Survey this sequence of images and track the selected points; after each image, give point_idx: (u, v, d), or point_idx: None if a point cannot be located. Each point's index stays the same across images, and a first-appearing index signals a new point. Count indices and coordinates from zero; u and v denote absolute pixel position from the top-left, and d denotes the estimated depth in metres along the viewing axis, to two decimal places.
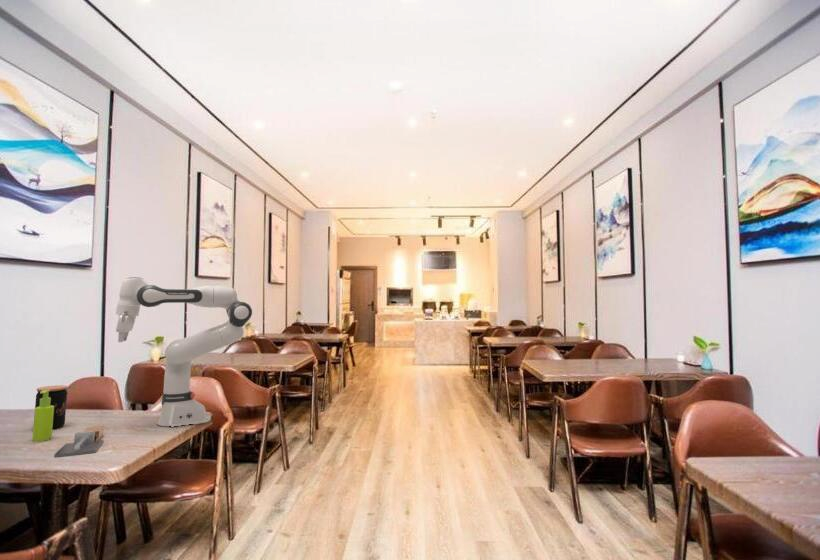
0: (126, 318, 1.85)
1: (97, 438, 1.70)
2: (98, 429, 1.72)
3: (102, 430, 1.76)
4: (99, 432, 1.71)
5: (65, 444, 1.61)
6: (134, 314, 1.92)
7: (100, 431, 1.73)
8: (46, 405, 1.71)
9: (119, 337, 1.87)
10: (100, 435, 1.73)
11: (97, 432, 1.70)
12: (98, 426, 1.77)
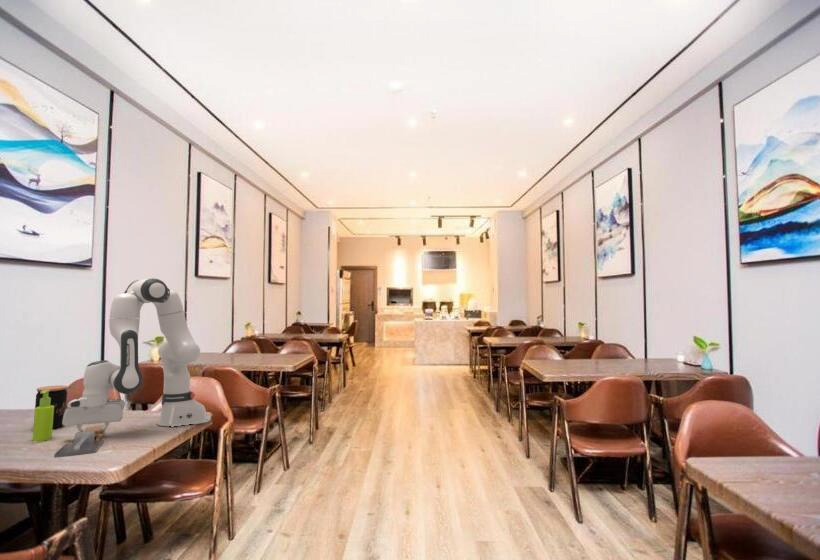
0: None
1: (97, 438, 1.70)
2: (98, 429, 1.72)
3: None
4: (99, 432, 1.71)
5: (65, 444, 1.61)
6: None
7: (100, 431, 1.73)
8: (46, 405, 1.71)
9: None
10: (100, 435, 1.73)
11: (97, 432, 1.70)
12: (98, 426, 1.77)
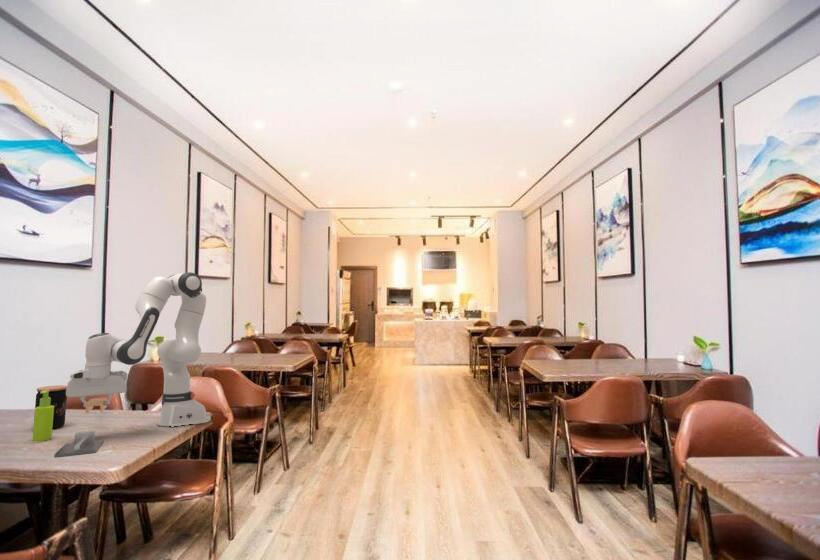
0: None
1: (101, 408, 1.71)
2: (102, 400, 1.74)
3: None
4: (103, 403, 1.72)
5: (65, 444, 1.61)
6: None
7: (104, 402, 1.74)
8: (46, 405, 1.71)
9: (109, 399, 1.76)
10: (104, 406, 1.74)
11: (101, 403, 1.71)
12: (101, 398, 1.78)
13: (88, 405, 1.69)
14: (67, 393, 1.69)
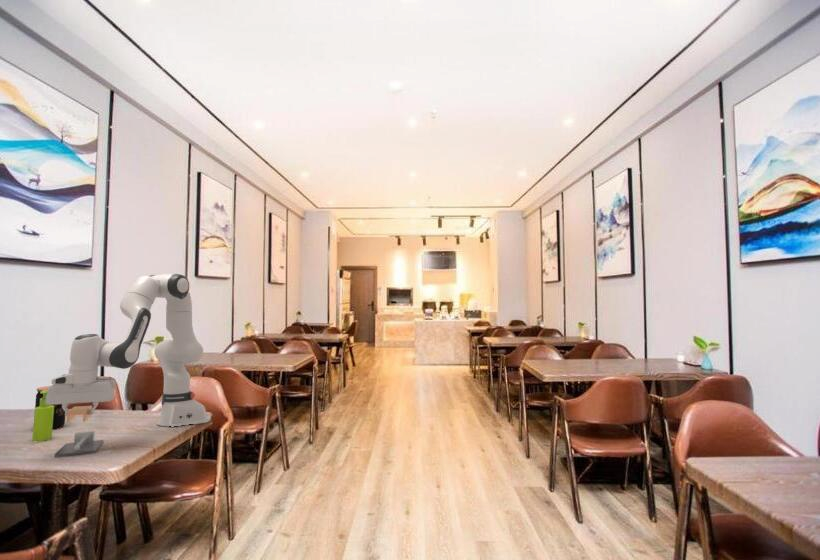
0: None
1: (84, 418, 1.54)
2: (85, 408, 1.56)
3: None
4: (86, 412, 1.55)
5: (65, 444, 1.61)
6: None
7: (88, 411, 1.56)
8: (46, 405, 1.71)
9: (94, 408, 1.58)
10: (88, 415, 1.57)
11: (84, 411, 1.54)
12: (86, 406, 1.61)
13: (70, 414, 1.52)
14: (47, 400, 1.51)
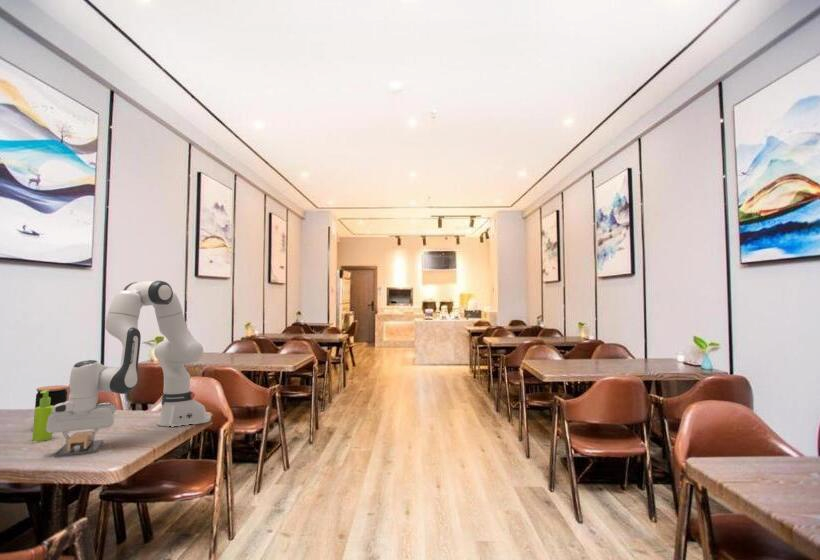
0: None
1: (85, 445, 1.54)
2: (86, 435, 1.57)
3: None
4: (87, 439, 1.56)
5: (65, 444, 1.61)
6: None
7: (88, 437, 1.57)
8: (46, 405, 1.71)
9: (95, 434, 1.59)
10: (88, 442, 1.58)
11: (85, 439, 1.55)
12: (86, 432, 1.62)
13: (70, 441, 1.53)
14: (47, 428, 1.52)
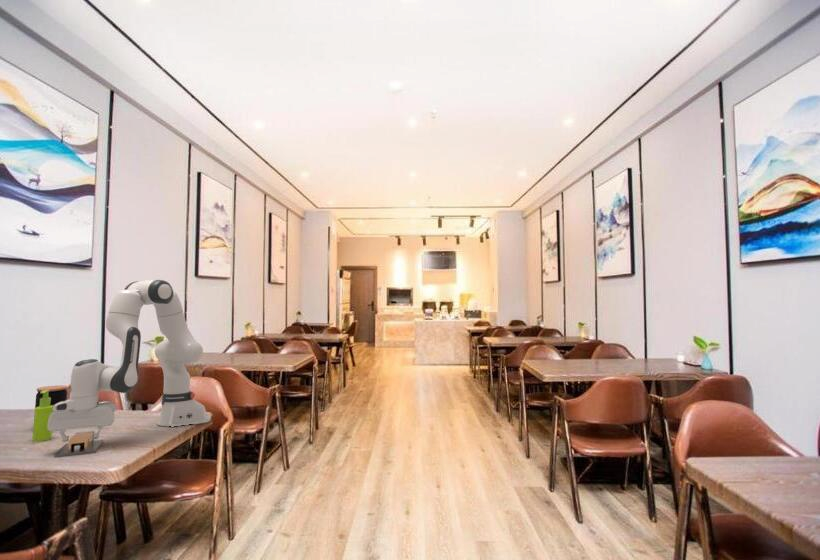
0: None
1: (85, 446, 1.56)
2: (86, 436, 1.59)
3: (91, 437, 1.62)
4: (87, 439, 1.57)
5: (65, 444, 1.61)
6: None
7: (89, 438, 1.59)
8: (46, 405, 1.71)
9: (99, 432, 1.61)
10: (89, 442, 1.59)
11: (85, 439, 1.56)
12: (87, 433, 1.63)
13: (71, 442, 1.54)
14: (49, 426, 1.54)
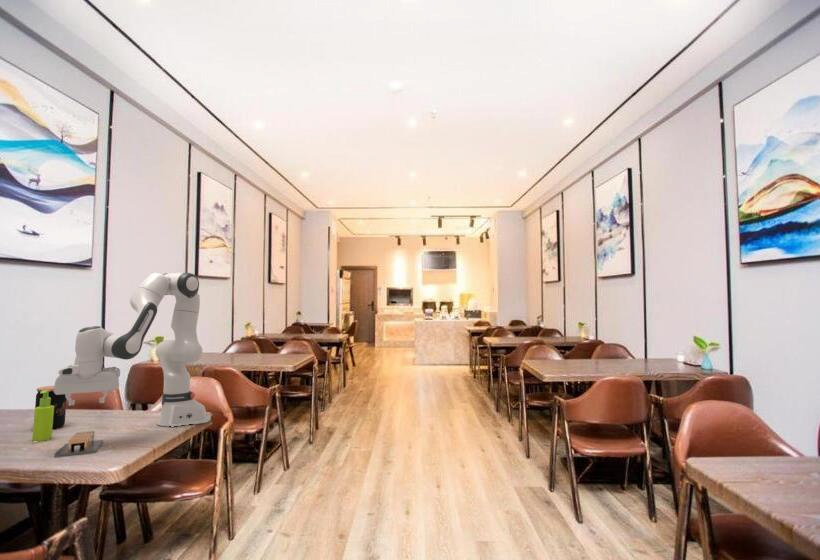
0: None
1: (85, 446, 1.56)
2: (86, 436, 1.59)
3: (91, 437, 1.62)
4: (87, 439, 1.57)
5: (65, 444, 1.61)
6: None
7: (89, 438, 1.59)
8: (46, 405, 1.71)
9: (104, 397, 1.65)
10: (89, 442, 1.59)
11: (85, 439, 1.56)
12: (87, 433, 1.63)
13: (71, 442, 1.54)
14: (55, 390, 1.57)
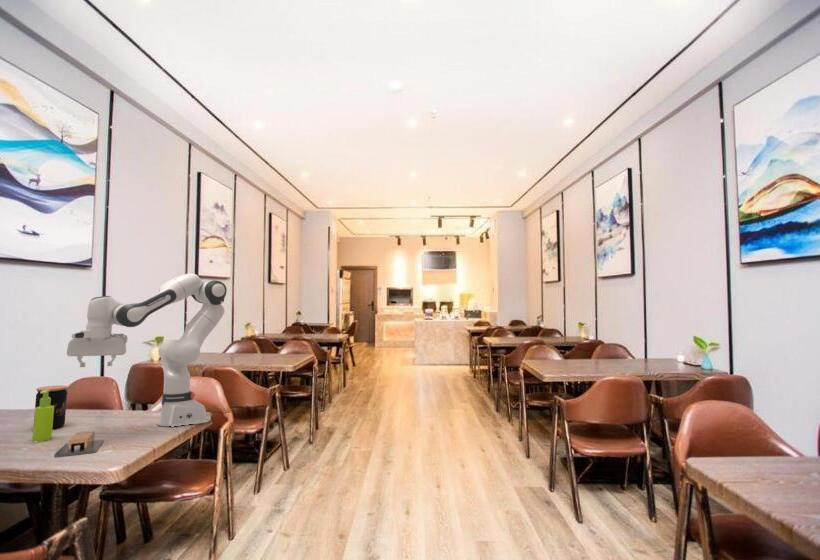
0: None
1: (85, 446, 1.56)
2: (86, 436, 1.59)
3: (91, 437, 1.62)
4: (87, 439, 1.57)
5: (65, 444, 1.61)
6: None
7: (89, 438, 1.59)
8: (46, 405, 1.71)
9: (112, 361, 1.79)
10: (89, 442, 1.59)
11: (85, 439, 1.56)
12: (87, 433, 1.63)
13: (71, 442, 1.54)
14: (68, 352, 1.72)
